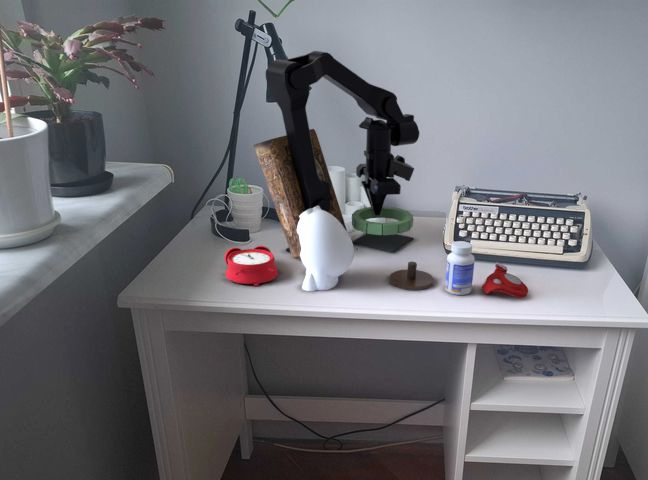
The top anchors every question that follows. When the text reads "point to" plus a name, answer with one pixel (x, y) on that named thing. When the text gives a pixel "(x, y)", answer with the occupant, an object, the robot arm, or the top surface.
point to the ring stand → (411, 278)
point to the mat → (383, 242)
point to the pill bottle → (460, 268)
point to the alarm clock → (250, 265)
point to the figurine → (323, 249)
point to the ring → (382, 228)
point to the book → (291, 185)
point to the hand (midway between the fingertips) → (376, 214)
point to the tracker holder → (504, 283)
